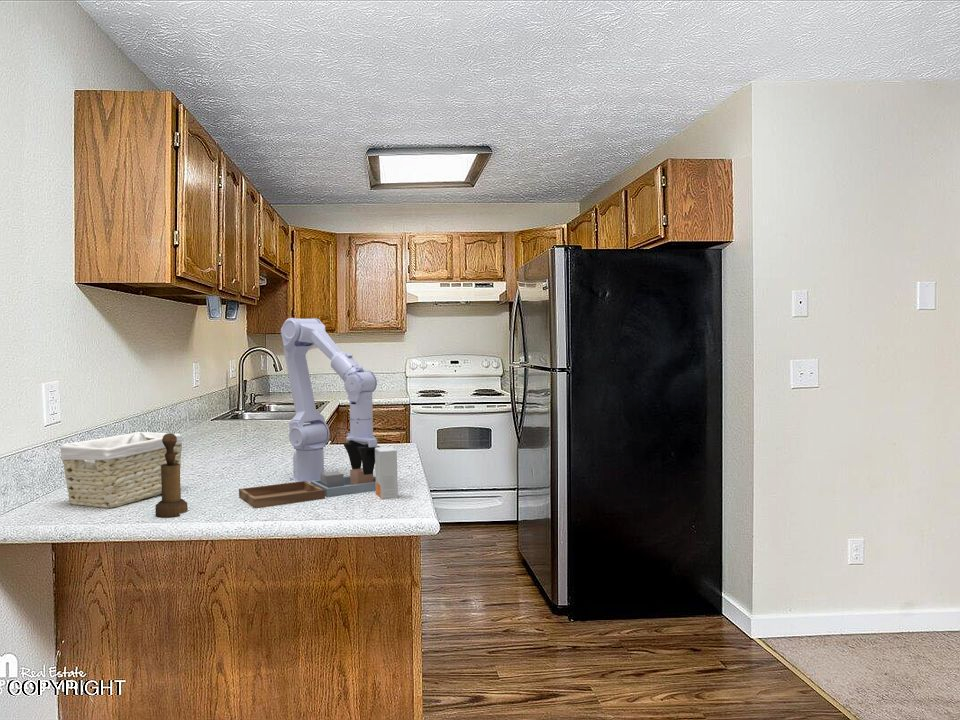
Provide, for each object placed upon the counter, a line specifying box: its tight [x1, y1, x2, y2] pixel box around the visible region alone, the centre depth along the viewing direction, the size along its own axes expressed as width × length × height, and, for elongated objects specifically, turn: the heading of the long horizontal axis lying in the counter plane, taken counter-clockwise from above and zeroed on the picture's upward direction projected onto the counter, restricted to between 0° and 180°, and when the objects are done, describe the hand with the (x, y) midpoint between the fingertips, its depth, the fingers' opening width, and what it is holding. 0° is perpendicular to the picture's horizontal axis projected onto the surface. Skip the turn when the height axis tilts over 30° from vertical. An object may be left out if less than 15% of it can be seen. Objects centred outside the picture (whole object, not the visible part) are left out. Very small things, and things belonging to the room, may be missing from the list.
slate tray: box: [309, 475, 376, 498], centre depth 183 cm, size 12×16×2 cm
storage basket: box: [59, 431, 183, 509], centre depth 180 cm, size 24×16×15 cm
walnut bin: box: [238, 481, 326, 509], centre depth 174 cm, size 14×17×2 cm
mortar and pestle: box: [154, 432, 189, 518], centre depth 162 cm, size 7×6×18 cm
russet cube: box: [349, 467, 374, 485], centre depth 185 cm, size 4×4×4 cm
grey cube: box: [320, 470, 345, 488], centre depth 181 cm, size 4×4×4 cm
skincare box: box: [374, 446, 399, 500], centre depth 175 cm, size 6×4×12 cm
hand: (362, 471), depth 185 cm, fingers open, 7 cm apart
